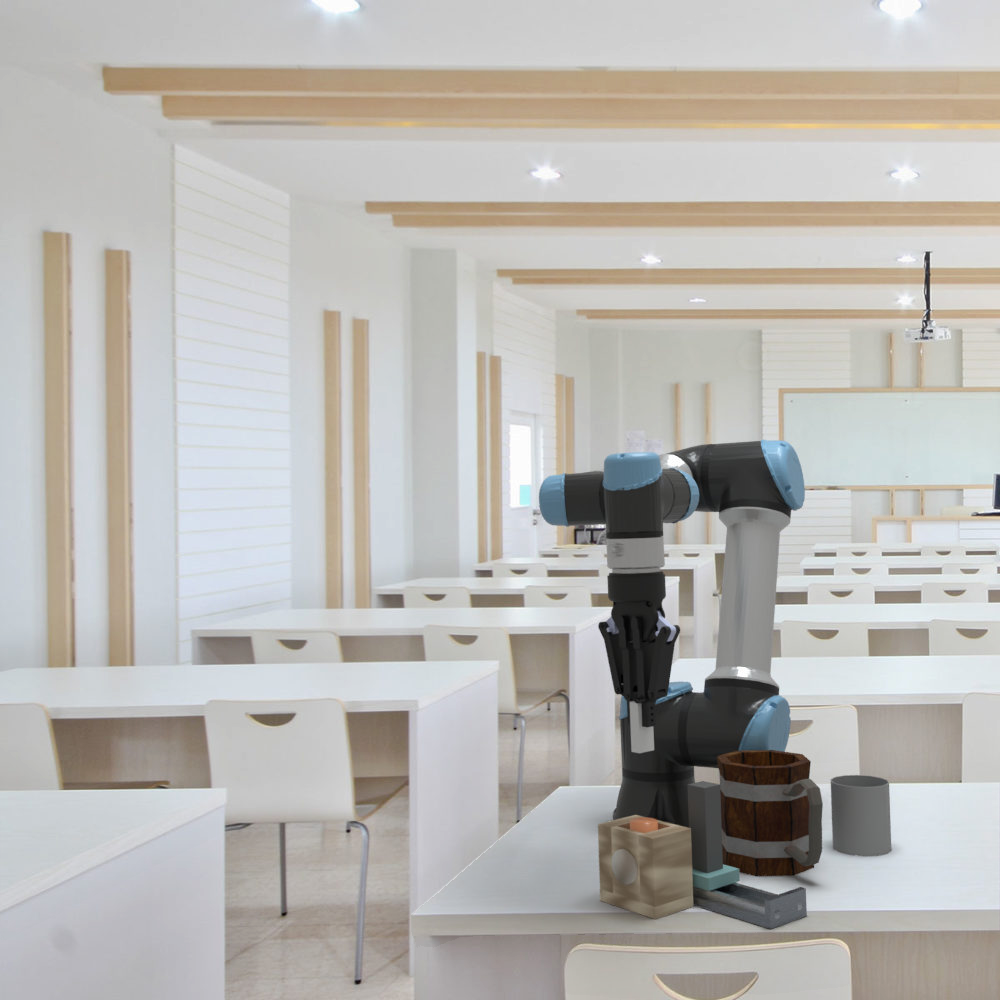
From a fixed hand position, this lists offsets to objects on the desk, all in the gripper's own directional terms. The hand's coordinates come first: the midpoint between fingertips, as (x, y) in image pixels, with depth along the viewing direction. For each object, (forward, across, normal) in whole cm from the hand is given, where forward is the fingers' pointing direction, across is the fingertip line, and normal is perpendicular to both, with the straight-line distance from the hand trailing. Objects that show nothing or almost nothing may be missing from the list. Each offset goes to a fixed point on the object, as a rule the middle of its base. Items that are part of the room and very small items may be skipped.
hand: (642, 750), depth 153 cm
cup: (+21, +4, +41) cm, 46 cm away
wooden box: (+20, 0, -1) cm, 20 cm away
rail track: (+20, +8, +7) cm, 23 cm away
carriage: (+18, +4, +7) cm, 19 cm away
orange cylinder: (+17, 0, -1) cm, 17 cm away
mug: (+20, +2, +24) cm, 31 cm away
